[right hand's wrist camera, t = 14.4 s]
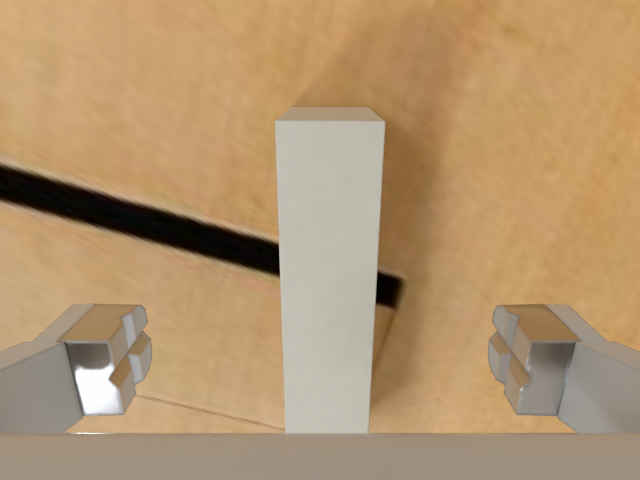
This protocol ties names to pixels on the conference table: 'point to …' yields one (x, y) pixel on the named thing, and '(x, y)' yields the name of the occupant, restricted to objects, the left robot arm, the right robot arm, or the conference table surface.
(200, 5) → the conference table surface
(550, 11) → the conference table surface
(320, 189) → the bar
